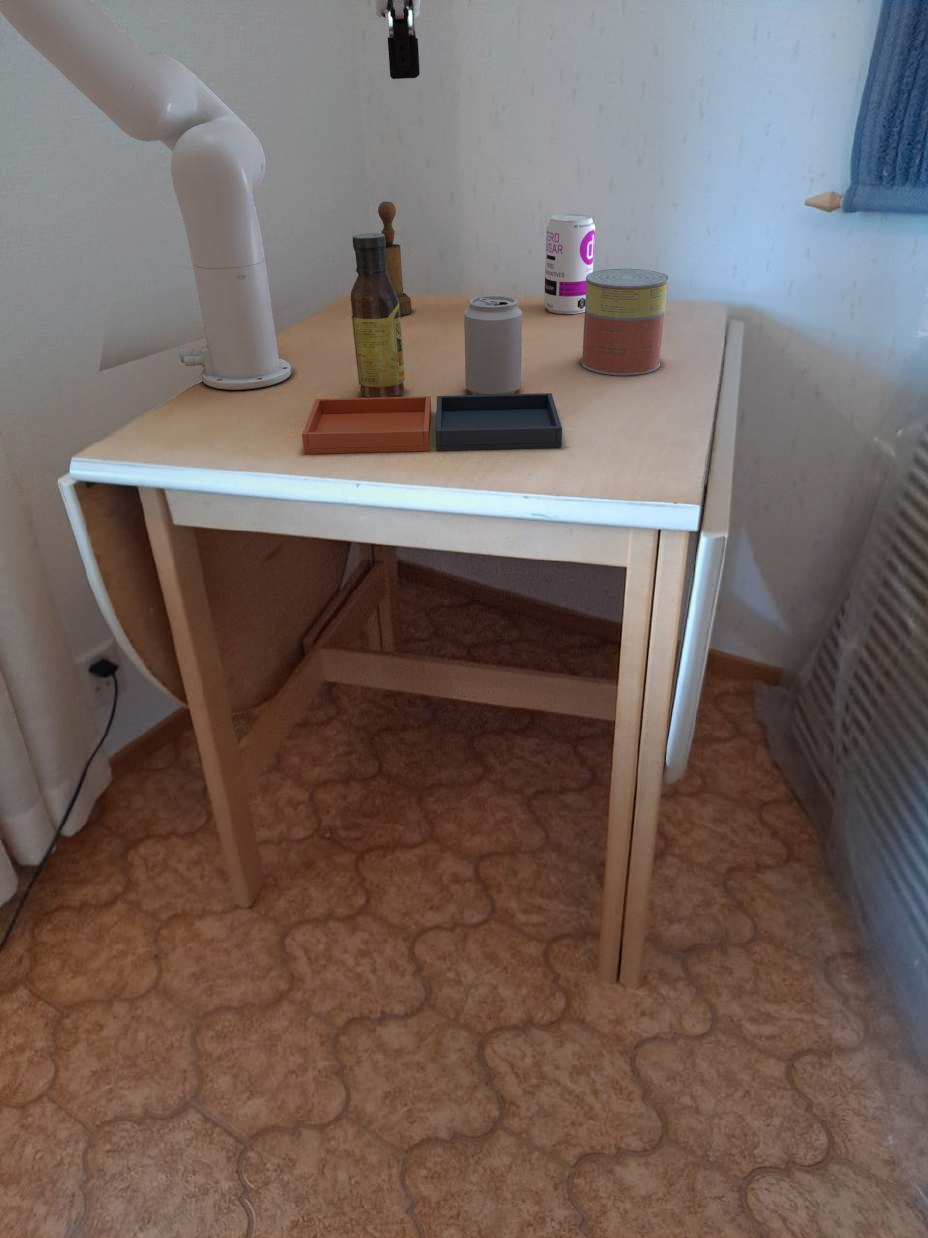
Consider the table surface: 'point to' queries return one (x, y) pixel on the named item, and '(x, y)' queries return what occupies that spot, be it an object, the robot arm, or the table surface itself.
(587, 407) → the table surface
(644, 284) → the canned food
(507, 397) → the charcoal tray
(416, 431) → the terracotta tray
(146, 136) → the robot arm
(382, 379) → the sauce bottle
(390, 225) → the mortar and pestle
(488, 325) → the can
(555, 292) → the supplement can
